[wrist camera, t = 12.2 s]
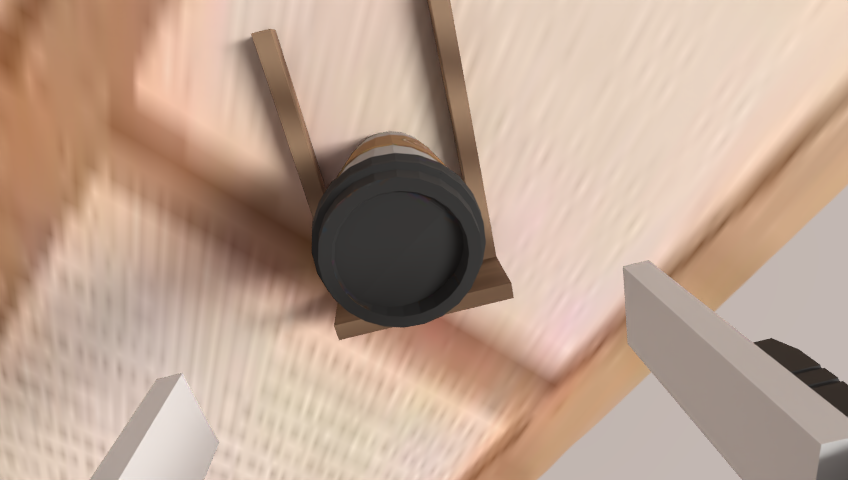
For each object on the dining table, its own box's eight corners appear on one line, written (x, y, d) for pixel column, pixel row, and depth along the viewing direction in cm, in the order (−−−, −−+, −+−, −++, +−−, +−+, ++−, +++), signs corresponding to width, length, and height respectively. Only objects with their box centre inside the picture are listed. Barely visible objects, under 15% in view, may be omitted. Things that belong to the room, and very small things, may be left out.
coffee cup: (471, 170, 35) (531, 249, 21) (395, 247, 37) (406, 367, 23) (387, 90, 33) (394, 120, 19) (310, 177, 34) (264, 265, 20)
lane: (257, 34, 30) (230, 31, 25) (444, -12, 30) (458, -25, 25) (344, 297, 38) (339, 340, 33) (494, 261, 38) (513, 297, 33)
